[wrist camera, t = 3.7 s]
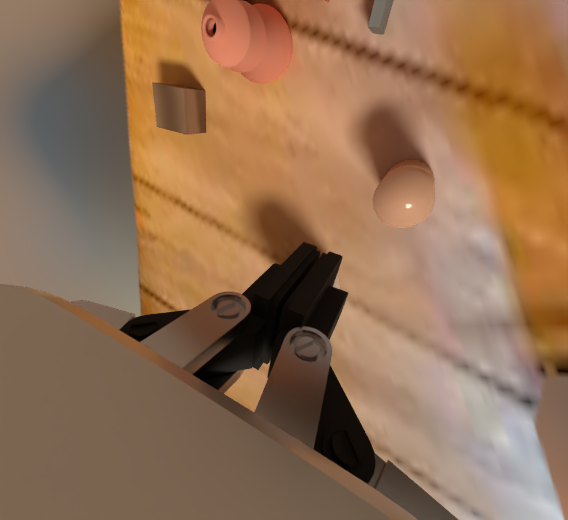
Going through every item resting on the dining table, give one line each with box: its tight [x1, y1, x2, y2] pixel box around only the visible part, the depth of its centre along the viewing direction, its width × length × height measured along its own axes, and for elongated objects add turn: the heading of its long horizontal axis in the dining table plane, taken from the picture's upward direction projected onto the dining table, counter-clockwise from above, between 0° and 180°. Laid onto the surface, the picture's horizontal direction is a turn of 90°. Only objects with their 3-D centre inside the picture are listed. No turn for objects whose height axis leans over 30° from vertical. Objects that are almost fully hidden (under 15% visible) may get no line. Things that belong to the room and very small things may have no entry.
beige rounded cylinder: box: [373, 160, 435, 228], centre depth 26 cm, size 5×5×7 cm
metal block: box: [152, 82, 206, 134], centre depth 35 cm, size 5×5×4 cm
